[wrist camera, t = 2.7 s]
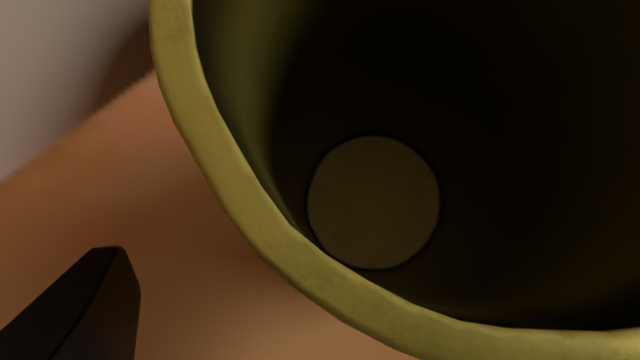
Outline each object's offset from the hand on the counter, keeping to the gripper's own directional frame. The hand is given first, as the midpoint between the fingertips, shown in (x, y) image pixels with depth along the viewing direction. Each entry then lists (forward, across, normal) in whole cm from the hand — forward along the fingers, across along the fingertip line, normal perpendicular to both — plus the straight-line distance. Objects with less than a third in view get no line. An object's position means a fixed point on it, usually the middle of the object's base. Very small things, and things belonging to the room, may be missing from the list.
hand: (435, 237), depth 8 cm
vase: (+8, 0, +6) cm, 10 cm away
